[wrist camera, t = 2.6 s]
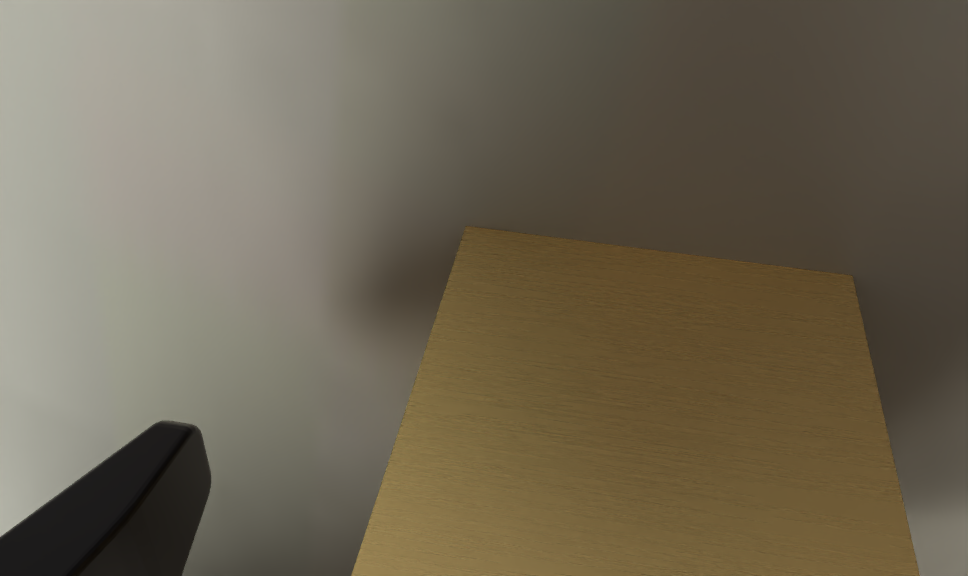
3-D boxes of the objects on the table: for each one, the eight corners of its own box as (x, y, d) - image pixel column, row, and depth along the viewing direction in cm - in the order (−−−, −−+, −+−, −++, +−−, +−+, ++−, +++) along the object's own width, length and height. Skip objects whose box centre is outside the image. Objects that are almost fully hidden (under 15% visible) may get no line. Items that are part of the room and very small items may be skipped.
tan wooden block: (460, 467, 12) (356, 882, 9) (467, 224, 10) (324, 657, 6) (763, 515, 12) (799, 975, 8) (851, 273, 9) (964, 776, 6)
